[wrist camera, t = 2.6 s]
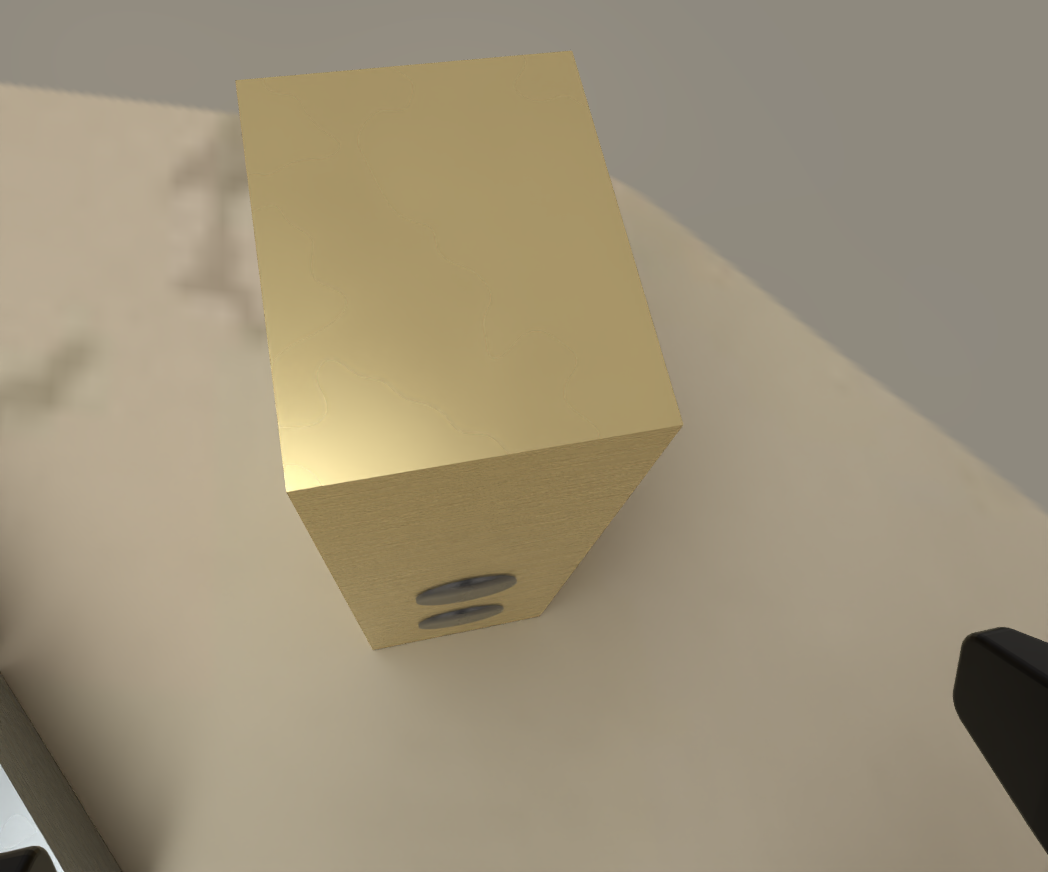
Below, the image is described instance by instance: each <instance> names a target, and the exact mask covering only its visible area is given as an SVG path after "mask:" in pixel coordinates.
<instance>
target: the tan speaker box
mask: <svg viewBox="0 0 1048 872" xmlns="http://www.w3.org/2000/svg"><path fill="white" fill-rule="evenodd" d="M236 89H237V97H238V105H239V113H240V121H241V129H242V137H243V146H244V154H245V162H246V170H247V178H248V186H249V194H250V202H251V210H252V218H253V226H254V234H255V242H256V251H257V259H258V267H259V275H260V283H261V291H262V299H263V307H264V315H265V323H266V331H267V339H268V348H269V356H270V364H271V372H272V380H273V388H274V396H275V404H276V412H277V420H278V428H279V436H280V444H281V453H282V461H283V469H284V477H285V485H286V492H287V494H288V496H289V498H290V500H291V501H292V503H293V505H294V507H295V509H296V510H297V512H298V514H299V516H300V518H301V520H302V521H303V523H304V525H305V527H306V529H307V531H308V532H309V534H310V536H311V538H312V540H313V541H314V543H315V545H316V547H317V549H318V551H319V552H320V554H321V556H322V558H323V560H324V562H325V563H326V565H327V567H328V569H329V571H330V572H331V574H332V576H333V578H334V580H335V582H336V583H337V585H338V587H339V589H340V591H341V593H342V594H343V596H344V598H345V600H346V602H347V603H348V605H349V607H350V609H351V611H352V613H353V614H354V616H355V618H356V620H357V622H358V623H359V625H360V627H361V629H362V631H363V633H364V634H365V636H366V638H367V640H368V642H369V644H370V645H371V647H372V649H373V650H376V649H381V648H386V647H391V646H396V645H401V644H406V643H411V642H416V641H421V640H426V639H430V638H435V637H440V636H445V635H450V634H455V633H460V632H465V631H470V630H475V629H480V628H484V627H489V626H494V625H499V624H504V623H509V622H514V621H519V620H524V619H529V618H534V617H538V616H540V615H541V614H542V613H543V611H544V610H545V609H546V607H547V606H548V605H549V603H550V602H551V601H552V599H553V598H554V597H555V595H556V594H557V593H558V591H559V590H560V589H561V587H562V586H563V585H564V583H565V582H566V581H567V579H568V578H569V577H570V575H571V574H572V573H573V571H574V570H575V569H576V567H577V566H578V565H579V563H580V562H581V561H582V559H583V558H584V557H585V555H586V554H587V553H588V551H589V550H590V549H591V547H592V546H593V545H594V543H595V542H596V541H597V539H598V538H599V537H600V535H601V534H602V533H603V531H604V530H605V529H606V527H607V526H608V525H609V523H610V522H611V521H612V519H613V518H614V517H615V515H616V514H617V513H618V511H619V510H620V509H621V507H622V506H623V505H624V503H625V502H626V501H627V499H628V498H629V497H630V495H631V494H632V493H633V491H634V490H635V489H636V487H637V486H638V485H639V483H640V482H641V481H642V479H643V478H644V477H645V475H646V474H647V473H648V471H649V470H650V469H651V467H652V466H653V465H654V463H655V462H656V461H657V459H658V458H659V457H660V455H661V454H662V453H663V451H664V450H665V449H666V447H667V446H668V445H669V443H670V442H671V441H672V439H673V438H674V437H675V435H676V434H677V433H678V431H679V430H680V429H681V427H682V426H683V422H682V419H681V415H680V412H679V409H678V405H677V402H676V399H675V395H674V392H673V389H672V385H671V382H670V378H669V375H668V372H667V368H666V365H665V362H664V358H663V355H662V352H661V348H660V345H659V341H658V338H657V335H656V331H655V328H654V325H653V321H652V318H651V315H650V311H649V308H648V304H647V301H646V298H645V294H644V291H643V288H642V284H641V281H640V278H639V274H638V271H637V267H636V264H635V261H634V257H633V254H632V251H631V247H630V244H629V241H628V237H627V234H626V230H625V227H624V224H623V220H622V217H621V214H620V210H619V207H618V204H617V200H616V197H615V193H614V190H613V187H612V183H611V180H610V177H609V173H608V170H607V167H606V163H605V160H604V157H603V154H602V150H601V146H600V143H599V140H598V136H597V133H596V130H595V126H594V123H593V120H592V116H591V113H590V109H589V106H588V103H587V99H586V96H585V93H584V89H583V86H582V83H581V79H580V76H579V72H578V69H577V66H576V63H575V59H574V56H573V52H572V51H563V52H552V53H540V54H529V55H517V56H506V57H494V58H483V59H472V60H461V61H449V62H438V63H427V64H415V65H405V66H393V67H382V68H370V69H359V70H347V71H336V72H325V73H313V74H302V75H291V76H279V77H268V78H257V79H245V80H236Z"/></svg>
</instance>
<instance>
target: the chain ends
mask: <svg viewBox="0 0 1048 872" xmlns="http://www.w3.org/2000/svg"><path fill="white" fill-rule="evenodd" d="M29 846H41V847H43V848H44V849H45V850H46V851H47V852H48V854H49V855H50V857H51V859H52V861H53V864H54V866H55V868H56V870H57V872H122V871H121V869H120V868H119V866H118V864H117V863H116V861H115V860H114V858H113V856H112V855H111V853H110V851H109V850H108V848H107V846H106V845H105V843H104V842H103V840H102V838H101V837H100V835H99V833H98V832H97V830H96V828H95V827H94V825H93V823H92V822H91V820H90V819H89V817H88V815H87V814H86V812H85V810H84V809H83V807H82V805H81V804H80V802H79V801H78V799H77V797H76V796H75V794H74V792H73V791H72V789H71V787H70V786H69V784H68V783H67V781H66V779H65V778H64V776H63V774H62V773H61V771H60V769H59V768H58V766H57V764H56V763H55V761H54V760H53V758H52V756H51V755H50V753H49V751H48V750H47V748H46V746H45V745H44V743H43V742H42V740H41V738H40V737H39V735H38V733H37V732H36V730H35V728H34V727H33V725H32V724H31V722H30V720H29V719H28V717H27V715H26V714H25V712H24V710H23V709H22V707H21V705H20V704H19V702H18V701H17V699H16V697H15V696H14V694H13V692H12V691H11V689H10V687H9V686H8V684H7V683H6V681H5V679H4V678H3V676H2V674H1V673H0V853H3V852H7V851H12V850H16V849H21V848H25V847H29Z"/></svg>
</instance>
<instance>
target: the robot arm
mask: <svg viewBox="0 0 1048 872" xmlns="http://www.w3.org/2000/svg"><path fill="white" fill-rule="evenodd" d="M953 702H954V706H955V709H956V712H957V714H958V716H959V718H960V720H961V722H962V723H963V725H964V726H965V728H966V729H967V731H968V732H969V734H970V736H971V737H972V739H973V740H974V742H975V743H976V745H977V747H978V748H979V750H980V751H981V753H982V754H983V756H984V757H985V759H986V761H987V762H988V764H989V765H990V767H991V768H992V770H993V771H994V773H995V775H996V776H997V778H998V779H999V781H1000V782H1001V784H1002V785H1003V787H1004V789H1005V790H1006V792H1007V793H1008V795H1009V796H1010V798H1011V800H1012V801H1013V803H1014V804H1015V806H1016V807H1017V809H1018V810H1019V812H1020V814H1021V815H1022V817H1023V818H1024V820H1025V821H1026V823H1027V824H1028V826H1029V828H1030V829H1031V831H1032V832H1033V834H1034V835H1035V837H1036V838H1037V839H1038V841H1039V842H1040V844H1041V845H1042V847H1043V848H1044V850H1045V851H1046V853H1047V854H1048V643H1047V642H1044V641H1042V640H1039V639H1037V638H1034V637H1032V636H1029V635H1026V634H1024V633H1021V632H1019V631H1016V630H1014V629H1011V628H1006V627H997V628H993V629H988V630H984V631H980V632H975V633H971V634H970V635H968V636H967V637H966V638H965V639H964V641H963V643H962V646H961V651H960V656H959V662H958V667H957V673H956V678H955V683H954V689H953ZM0 872H57V870H56V868H55V866H54V864H53V861H52V859H51V857H50V855H49V854H48V852H47V851H46V850H45V849H44V848H43V847H41V846H29V847H25V848H21V849H16V850H12V851H7V852H3V853H0Z"/></svg>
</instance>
